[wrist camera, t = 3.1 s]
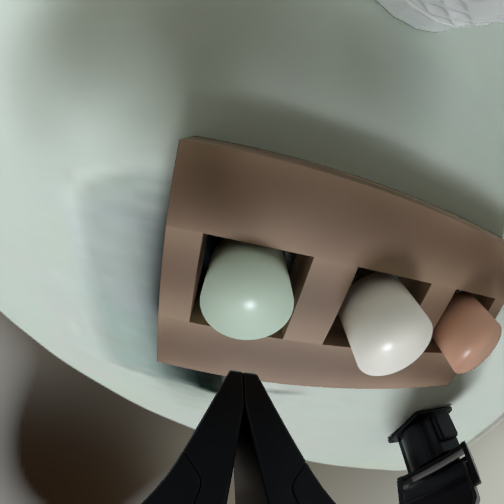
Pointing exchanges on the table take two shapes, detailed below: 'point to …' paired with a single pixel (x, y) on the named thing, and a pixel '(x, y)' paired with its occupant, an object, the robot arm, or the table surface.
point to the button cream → (384, 324)
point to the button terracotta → (466, 332)
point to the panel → (311, 262)
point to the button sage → (246, 290)
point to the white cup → (445, 13)
